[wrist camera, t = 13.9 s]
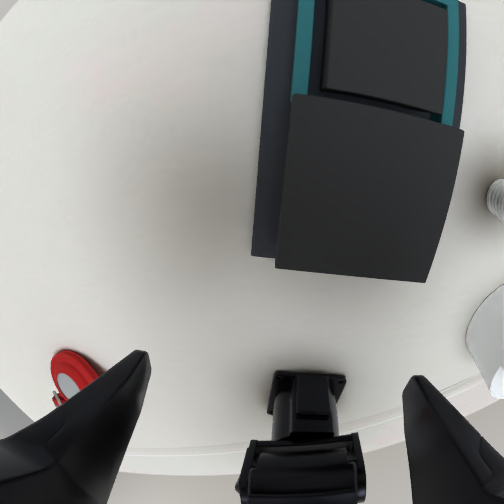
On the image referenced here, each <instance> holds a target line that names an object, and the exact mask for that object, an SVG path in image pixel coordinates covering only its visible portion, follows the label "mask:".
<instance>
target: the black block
mask: <svg viewBox="0 0 504 504" xmlns="http://www.w3.org/2000/svg"><path fill="white" fill-rule="evenodd" d="M447 35H448V15H447V10H445V9H443V8H440V7H438V6H435V5H433V4H430V3H427V2H424V1H422V0H326V11H325V27H324V41H323V54H322V66H321V77H320V88H319V89H320V91H324V92H331V93H337V94H343V95H348V96H354V97H359V98H364V99H369V100H374V101H378V102H383V103H387V104H391V105H396V106H400V107H404V108H407V109H411V110H415V111H419V112H426V113H433V114H442V108H443V99H444V89H445V78H446V63H447Z"/></svg>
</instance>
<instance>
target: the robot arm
mask: <svg viewBox="0 0 504 504" xmlns="http://www.w3.org/2000/svg"><path fill="white" fill-rule="evenodd" d="M150 375H151V364H150V360H149V355H148V353H147V352H146V351H141V350H135V351H133V352H132V353H130V354H129V355H128V356H126V357H125V358H124V359H122V360H121V361H120V362H118V363H117V364H116V365H114V366H113V367H112V368H110V369H109V370H108V371H106V372H105V373H103V374H102V375H101V376H99V377H98V378H97V379H95V380H94V381H93V382H91V383H90V384H89V385H87V386H86V387H85V388H83V389H82V390H80V391H79V392H78V393H76V394H75V395H74V396H72V397H71V398H70V399H68V400H67V401H66V402H64V404H61V405H60V406H59V407H57V408H56V409H54V410H53V411H52V412H50V413H49V414H47V415H46V416H44V417H43V418H41V419H39V420H38V421H36V422H34V423H33V424H31V425H29V426H27V427H26V428H24V429H22V430H20V431H18V432H17V433H15V434H13V435H11V436H9V437H7V438H5V439H1V440H0V504H107V501H108V499H109V496H110V492H111V490H112V487H113V484H114V482H115V479H116V476H117V473H118V471H119V468H120V465H121V462H122V460H123V457H124V454H125V452H126V449H127V446H128V444H129V441H130V439H131V436H132V433H133V431H134V428H135V426H136V423H137V420H138V418H139V415H140V412H141V409H142V406H143V402H144V398H145V394H146V390H147V386H148V383H149V379H150ZM279 376H280V377H279ZM345 384H346V377H345V376H344V375H326V374H309V373H295V372H283V371H278V372H275V373H274V376H273V382H272V387H271V392H270V397H269V402H268V407H267V413H268V414H270V415H273V426H272V440H271V441H258V440H251V441H250V445H249V448H247V451H246V455H245V459H244V463H243V466H242V470H241V474H240V476H239V478H238V481H237V483H236V485H235V490H236V491H237V492H238V493H239V494H240V498H241V504H357V503H362V502H364V501H365V497H366V473H365V465H364V460H363V455H362V450H361V445H360V440H359V436H358V432H357V433H351V434H349V435H342V436H339V427H338V417H337V407H336V404H337V402H338V400H339V398H340V395H341V393H342V391H343V389H344V386H345ZM402 398H403V413H404V431H405V439H406V446H407V454H408V461H409V469H410V479H411V488H412V500H413V504H504V458H503V457H502V456H501V455H500V454H499V453H498V452H497V451H496V450H495V449H494V448H493V447H492V446H491V445H490V444H489V443H488V442H487V441H486V440H485V439H484V438H483V437H482V436H481V435H480V434H479V432H478V431H477V430H475V428H474V427H473V426H472V425H471V424H470V423H469V422H468V421H467V420H466V419H465V418H464V417H463V416H462V415H461V414H460V413H459V411H458V410H457V409H456V408H455V407H454V406H453V405H452V404H451V403H450V402H449V401H448V400H447V399H446V398H445V397H444V396H443V395H442V394H441V393H440V392H439V391H438V390H437V389H436V388H435V387H434V386H433V385H432V384H431V383H430V382H429V381H428V380H427V379H426V378H425V377H424V376H422V375H414V376H412V377H411V378H410V380H409V382H408V383H407V385H406V387H405V388H404V390H403V395H402Z"/></svg>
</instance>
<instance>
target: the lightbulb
mask: <svg viewBox="0 0 504 504" xmlns="http://www.w3.org/2000/svg"><path fill="white" fill-rule="evenodd" d="M487 206H488V209H489V210H490V212H491V213H493V214H494V215H495V216H497V217H498V218H500V219H501V220H502V221H504V179H498V180H496V181H495V182H493V184H492V185H491V186H490V188H489V190H488V193H487Z"/></svg>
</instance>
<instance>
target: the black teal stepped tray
mask: <svg viewBox="0 0 504 504" xmlns="http://www.w3.org/2000/svg"><path fill="white" fill-rule="evenodd" d="M422 1H424V2H427V3H430V4H433V5H435V6H438V7H440V8H443V9H445V10H447V15H448V35H447V63H446V78H445V89H444V99H443V108H442V114H433V113H426V112H419V111H415V110H411V109H407V108H404V107H400V106H396V105H391V104H387V103H383V102H378V101H374V100H369V99H364V98H359V97H354V96H348V95H343V94H337V93H331V92H324V91H320V89H319V88H320V77H321V66H322V54H323V41H324V27H325V11H326V0H271V12H270V25H269V37H268V49H267V62H266V74H265V87H264V99H263V112H262V124H261V137H260V149H259V162H258V174H257V187H256V199H255V212H254V225H253V237H252V250H251V256H258V257H267V258H275V268H278V269H288V270H297V271H307V272H317V273H326V274H336V275H346V276H356V277H367V278H377V279H387V280H398V281H409V282H420V283H425V282H426V279H427V276H428V274H429V271H430V268H431V265H432V262H433V259H434V256H435V253H436V250H437V247H438V244H439V240H440V237H441V234H442V230H443V227H444V223H445V220H446V216H447V212H448V208H449V205H450V201H451V197H452V192H453V188H454V184H455V179H456V175H457V170H458V165H459V160H460V154H461V149H462V143H463V137H464V131H463V130H461V129H459V128H460V121H461V113H462V104H463V94H464V83H465V68H466V5H465V4H464V3H462V2H460V1H458V0H422Z"/></svg>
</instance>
